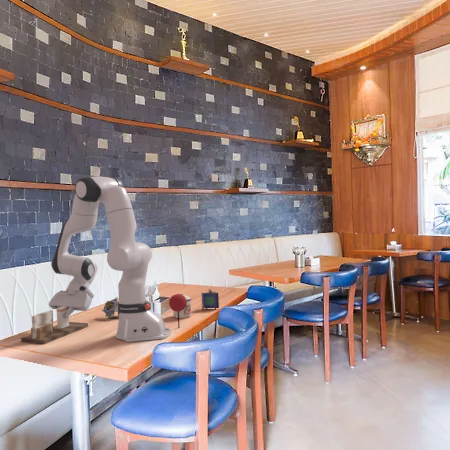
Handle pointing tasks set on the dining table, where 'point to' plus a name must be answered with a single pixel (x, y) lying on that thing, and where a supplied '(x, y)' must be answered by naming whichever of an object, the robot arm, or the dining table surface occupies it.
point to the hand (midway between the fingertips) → (61, 317)
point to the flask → (210, 299)
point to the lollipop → (177, 303)
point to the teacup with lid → (186, 311)
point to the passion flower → (111, 307)
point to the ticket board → (56, 333)
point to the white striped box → (61, 320)
